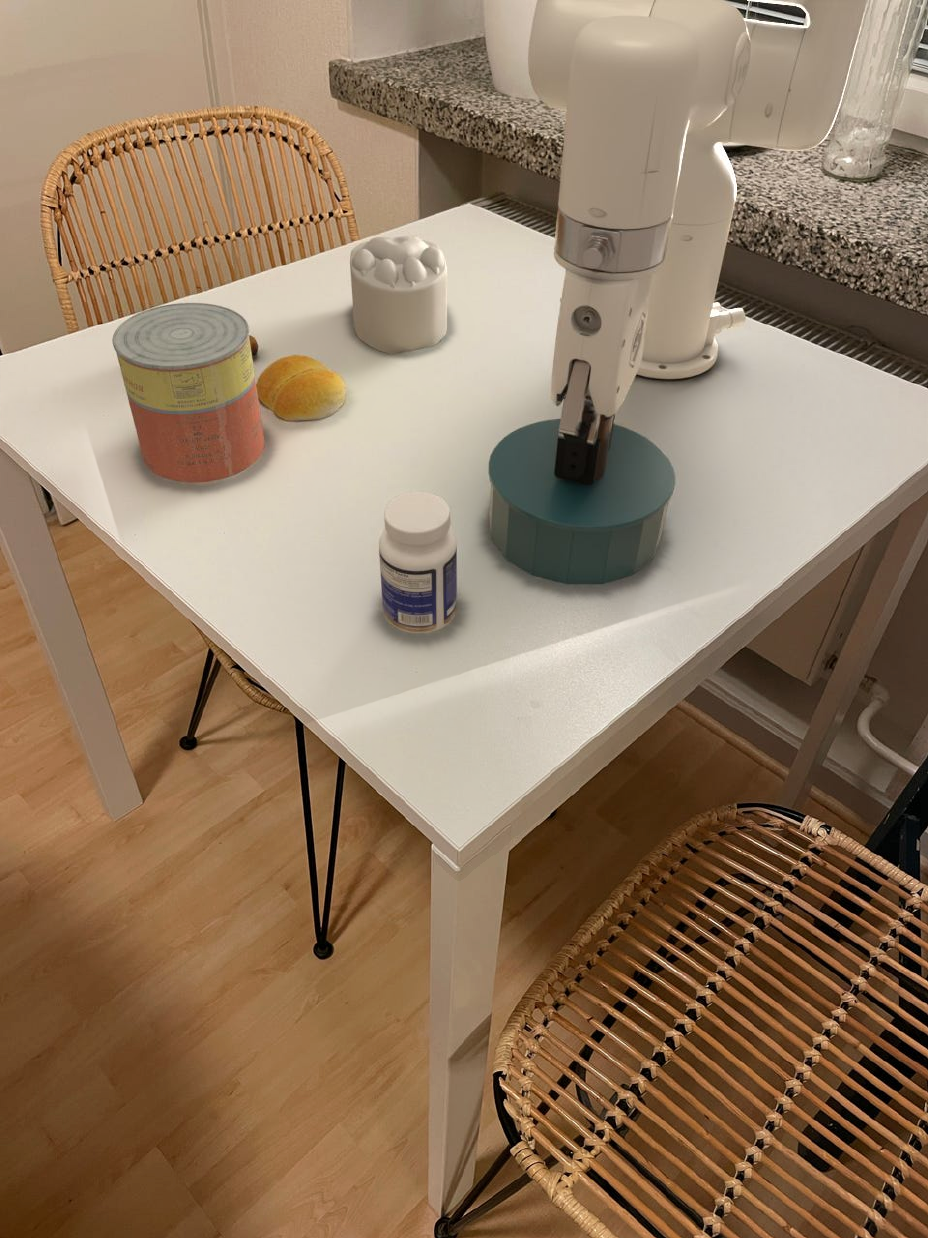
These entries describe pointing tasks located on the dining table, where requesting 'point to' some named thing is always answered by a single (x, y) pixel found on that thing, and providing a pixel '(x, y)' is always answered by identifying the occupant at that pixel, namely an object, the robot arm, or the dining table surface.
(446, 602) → the pill bottle
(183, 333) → the canned food
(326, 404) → the bread roll
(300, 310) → the dining table surface
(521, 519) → the pot
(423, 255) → the lumpy-topped squat cylinder
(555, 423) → the lid
